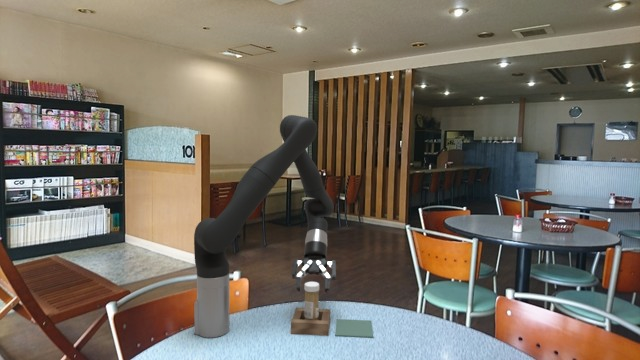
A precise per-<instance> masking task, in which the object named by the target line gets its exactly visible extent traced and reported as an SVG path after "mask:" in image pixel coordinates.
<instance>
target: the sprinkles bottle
mask: <svg viewBox="0 0 640 360" xmlns="http://www.w3.org/2000/svg"><path fill="white" fill-rule="evenodd" d="M303 286H304V307H303V308H304V316H305V320H318V319H319V309H320V308H319V304H320V302H319V301H320V300H319V295H320V294H319V293H320V283H319V282H317V281H306V282H305V283H304V285H303Z"/></svg>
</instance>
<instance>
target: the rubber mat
mask: <svg viewBox="0 0 640 360" xmlns="http://www.w3.org/2000/svg"><path fill="white" fill-rule="evenodd" d="M334 333H335V335H334V336H335V337H343V338H344V337H347V338H348V337H349V338H367V339H374V331H373V323H372V320H371V319H370V320H368V319H364V320H362V319H346V318H342V319H341V318H336V321H335V332H334Z"/></svg>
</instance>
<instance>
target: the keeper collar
mask: <svg viewBox="0 0 640 360" xmlns="http://www.w3.org/2000/svg"><path fill="white" fill-rule="evenodd" d="M304 308H305V307H296V308H295V310H294V313H293V315H292V318H291V321H290V335H301V336H302V335H305V336H306V335H308V336H324V337H325V336H327V337H328V336H329V335H330V325H331V308H319V319H318V320H305V316H304Z"/></svg>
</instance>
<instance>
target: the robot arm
mask: <svg viewBox="0 0 640 360" xmlns="http://www.w3.org/2000/svg"><path fill="white" fill-rule="evenodd" d="M317 132H318V126H317V123H316V122H315V120H314V119H312V118H311V117H310V118H309V117H307V116H306V117H305V116H301V115H293V114H289V115H287V116H284V117H283V118H282V120H281V121H280V124H279V133H280V136H281V139H282V141H283V143H282V144H281V145H280V146H278V147H277V148H276V149H274V150H273V151H271V152H270V153H269V152H268V153H267V154H266V155H264V156H263V157H260V158H259V159H257V161H255V162H254V163H253V164H252V165H251V166H250V167H249V169H248V170H247V171H246V172H245V173H244V175H243V176H242V177H241V179H240V180H239V182H238V184H237V186H236V188H235V189H234V190H235V191H234V193H233V196H232V198H231V199H230V201H229V203H228V205H227V206H226V207H225V208H224V210H223V211H222V212H221V213H219V215H218V216H216V218H215V217H207V218H203V219H202V220H201V221H199V223H198V224H197V225H196V227H195V229H194V235H193V246H194V247H193V249H194V254H193V255H194V263H195V268H196V300H195V301H194V303H193V305H194V307H193V308H194V309H193V310H194V318H193V319H194V326H193V327H194V335H198V336H200V337H202V338H218V337H221V336H224V335H226V334H228V332H230V324H231V323H230V263H229V261H228V260H229V259H228V258H227V253H226V250H227V249H229V248H230V246H231V245H232V243H233V242H234V240H235V238H236V237H237V236H238V234H239V233H240V231H241V230H242V228H243V226H244V225H245V223H246V222H247V221H248V219H249V218H250V216H251V215H252V214H253V213H254V212H255V210H256V209H257V208H258V207H259V205H260V204H262V201H263V200H264V199H265V198H266V197H267V196H268V194H269V193H270V192H271V191H272V189H273V188H274V187H275V186H276V185H277V183H278V182H279V180H280V179H281V178H282V176H284V174H285V173H286V171H287V170H288V169H289V168H290V167H291V165H292V164H295V167H296V170H297V173H298V175H299V178H300V181H301V185H302V187H303V191H304V195H305V196H306V197H308V199H307V200H306V201H305V203H304V211H305V214H306V221H307V231H306V236H305V241H304V253H303V258H302V260H298V259H297V258H293V263H292V269H291V272H290V275H291V278H292V279H293V280H296V281H295V288H296V290H297V292H301V290H302V289H301V286H302V279H303V278H305V277H306V276H307V275H318V276H319V275H321V276H322V277H323V278H324V282H325V283H324V284H325V285H324V293H328V291H329V292H330V288H331V282H332V281H336V280H337V271H336V270H337V263H336V260H335V259H332V261H328V259H327V257H328V252H327V251H328V228H329V227H328V221H327V220H326V219H325V218H324V217H329V216H331V215H332V214H333V213H334V211H335V210H334V209H335V206H334V202H333V200H332V197H330V194H329V193H328V192H327V191H326V189H325V187H324V184H323V180H322V176H321V173H320V170H319V168H318V167H317V165H316V163H315V162H314V161H313V159H312V158H311V156H310V155H309V153H308V151H307V149H308V148H309V147H310V145H311V144H312V143H313V142H314V140H315V138H316V136H317ZM300 266H302V268H301V269H300V271H299V272H298V273H297V271H298V268H299V267H300ZM327 267H329V269H331V274H329V272H328V271H327V269H326V268H327Z"/></svg>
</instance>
